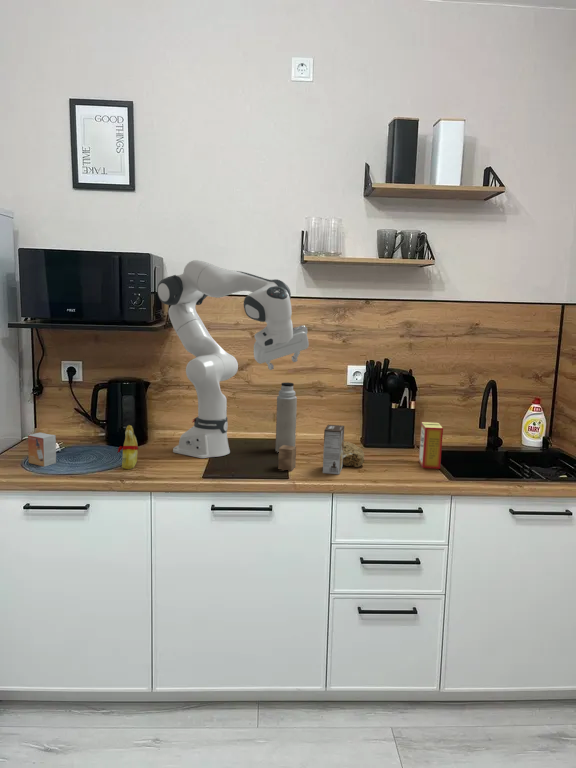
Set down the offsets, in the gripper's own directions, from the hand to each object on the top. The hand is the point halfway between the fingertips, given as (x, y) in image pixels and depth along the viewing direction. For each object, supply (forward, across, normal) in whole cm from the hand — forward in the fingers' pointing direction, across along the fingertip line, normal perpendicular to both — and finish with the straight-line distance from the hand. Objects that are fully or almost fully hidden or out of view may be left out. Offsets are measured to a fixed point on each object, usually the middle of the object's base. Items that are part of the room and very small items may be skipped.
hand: (282, 364), depth 208 cm
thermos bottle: (+43, +2, -1) cm, 43 cm away
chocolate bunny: (+26, +61, -6) cm, 67 cm away
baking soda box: (+42, -43, +34) cm, 69 cm away
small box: (+23, +89, -19) cm, 94 cm away
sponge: (+41, -16, +18) cm, 47 cm away
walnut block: (+32, +9, +18) cm, 38 cm away
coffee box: (+34, -6, +26) cm, 43 cm away
